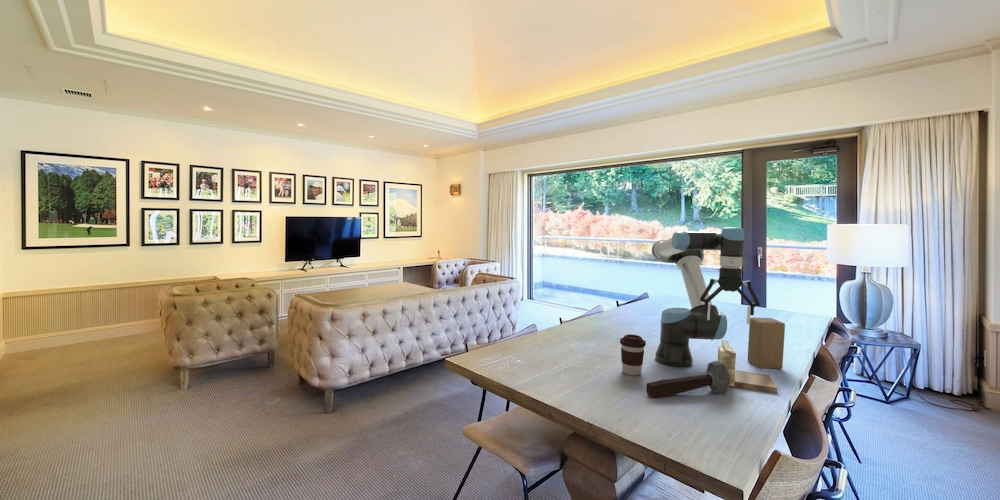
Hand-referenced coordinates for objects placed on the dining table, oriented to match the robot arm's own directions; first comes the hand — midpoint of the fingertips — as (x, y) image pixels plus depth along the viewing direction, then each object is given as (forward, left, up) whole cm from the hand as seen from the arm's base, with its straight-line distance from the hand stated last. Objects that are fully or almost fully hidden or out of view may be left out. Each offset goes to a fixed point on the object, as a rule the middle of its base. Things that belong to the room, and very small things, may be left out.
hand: (727, 321), depth 157 cm
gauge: (0, -1, -23) cm, 23 cm away
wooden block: (+17, +26, -23) cm, 39 cm away
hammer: (-14, -23, -24) cm, 35 cm away
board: (+6, 0, -23) cm, 24 cm away
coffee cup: (-34, -10, -23) cm, 42 cm away
